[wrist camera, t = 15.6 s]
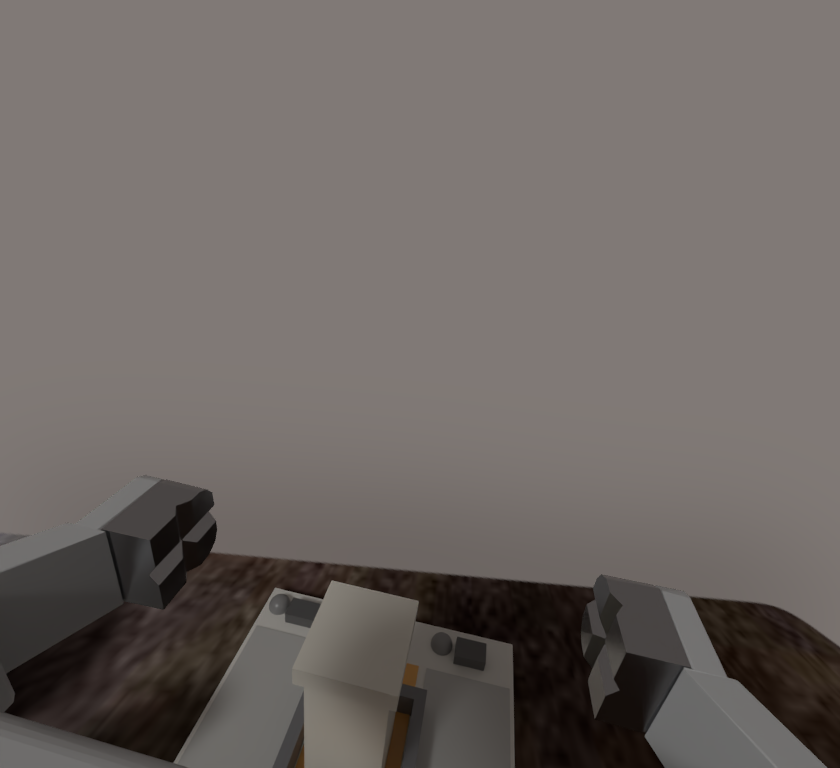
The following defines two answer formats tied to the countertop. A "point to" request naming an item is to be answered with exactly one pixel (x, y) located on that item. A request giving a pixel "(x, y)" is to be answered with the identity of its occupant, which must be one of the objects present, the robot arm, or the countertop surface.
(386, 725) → the plug
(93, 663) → the countertop surface
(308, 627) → the board
